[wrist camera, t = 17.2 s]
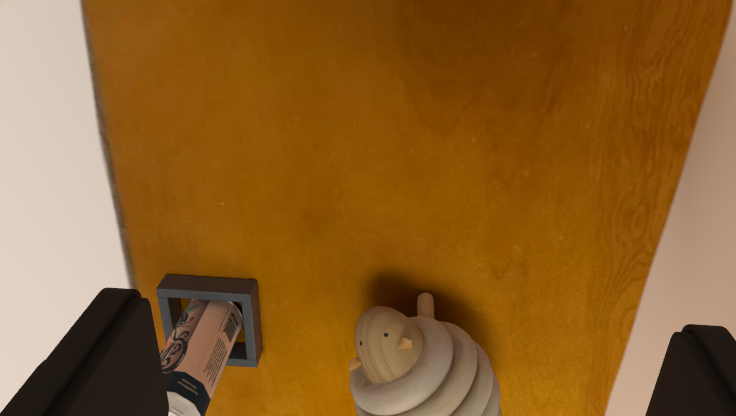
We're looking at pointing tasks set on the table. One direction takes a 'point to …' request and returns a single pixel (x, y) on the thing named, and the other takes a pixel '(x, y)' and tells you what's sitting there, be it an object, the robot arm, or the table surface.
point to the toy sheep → (419, 366)
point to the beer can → (198, 354)
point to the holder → (220, 291)
